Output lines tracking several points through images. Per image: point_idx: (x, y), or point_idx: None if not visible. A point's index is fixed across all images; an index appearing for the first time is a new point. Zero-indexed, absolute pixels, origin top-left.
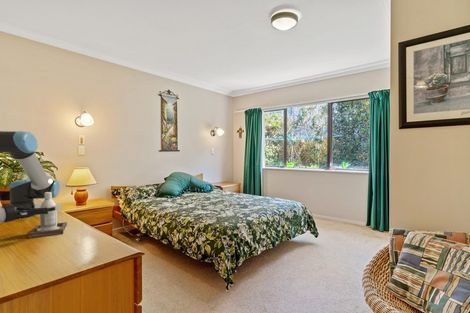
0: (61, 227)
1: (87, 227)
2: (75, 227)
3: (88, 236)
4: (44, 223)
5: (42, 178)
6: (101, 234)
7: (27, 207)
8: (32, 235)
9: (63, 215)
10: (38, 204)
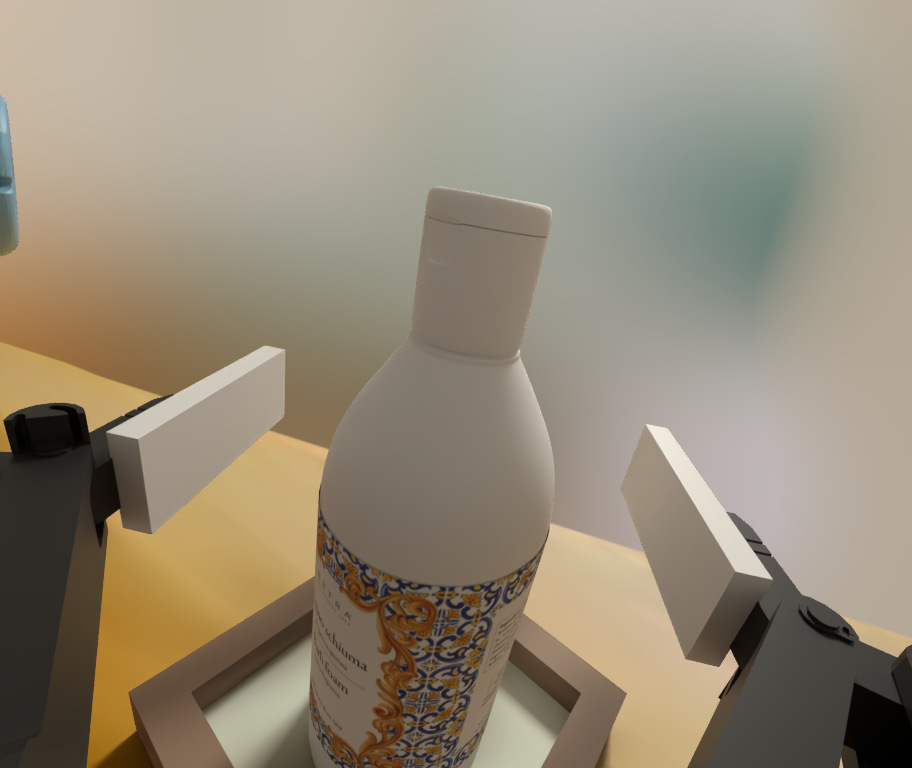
0: (533, 647)
1: (577, 538)
2: None
3: None
4: (456, 741)
5: None
6: (852, 626)
7: (71, 660)
8: None
9: (140, 399)
10: (193, 428)
